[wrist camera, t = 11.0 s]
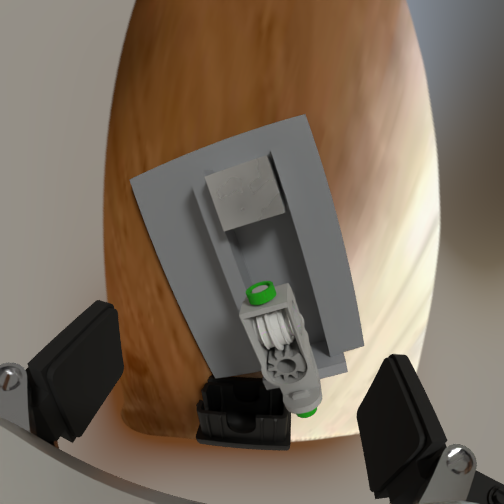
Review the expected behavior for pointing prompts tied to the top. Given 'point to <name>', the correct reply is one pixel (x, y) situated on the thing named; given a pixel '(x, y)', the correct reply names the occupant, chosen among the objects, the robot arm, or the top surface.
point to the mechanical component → (282, 345)
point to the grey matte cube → (246, 193)
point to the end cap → (243, 415)
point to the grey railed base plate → (253, 248)
